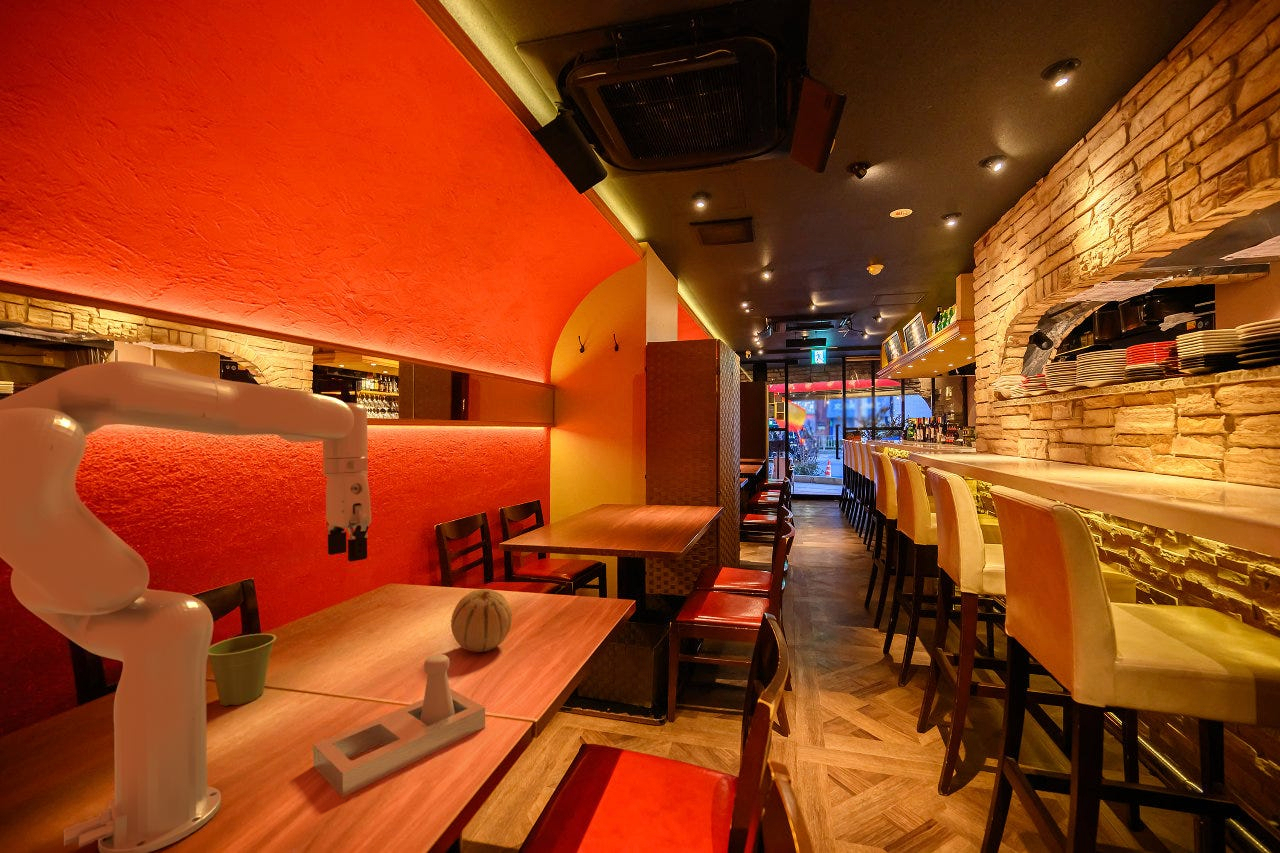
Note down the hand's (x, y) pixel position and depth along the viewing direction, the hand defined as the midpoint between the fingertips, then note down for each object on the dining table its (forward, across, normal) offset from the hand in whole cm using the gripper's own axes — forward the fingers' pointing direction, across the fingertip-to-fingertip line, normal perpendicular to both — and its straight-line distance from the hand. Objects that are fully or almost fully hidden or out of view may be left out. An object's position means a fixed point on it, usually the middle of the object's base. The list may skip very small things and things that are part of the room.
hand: (347, 556), depth 102 cm
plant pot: (+31, +26, +11) cm, 42 cm away
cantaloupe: (+31, +8, -34) cm, 46 cm away
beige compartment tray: (+30, -18, -2) cm, 35 cm away
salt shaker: (+31, -18, -8) cm, 36 cm away
